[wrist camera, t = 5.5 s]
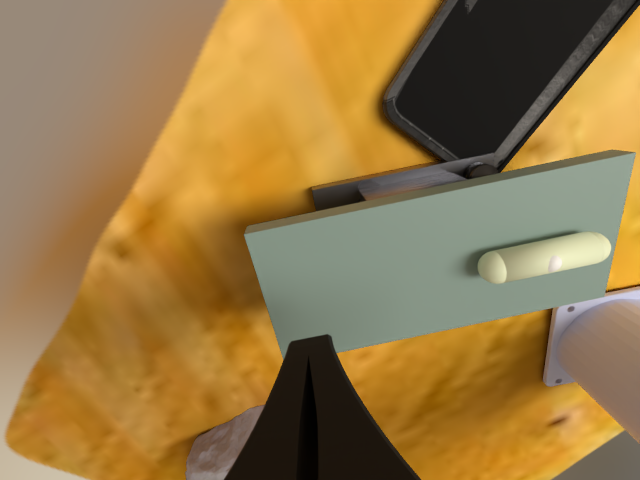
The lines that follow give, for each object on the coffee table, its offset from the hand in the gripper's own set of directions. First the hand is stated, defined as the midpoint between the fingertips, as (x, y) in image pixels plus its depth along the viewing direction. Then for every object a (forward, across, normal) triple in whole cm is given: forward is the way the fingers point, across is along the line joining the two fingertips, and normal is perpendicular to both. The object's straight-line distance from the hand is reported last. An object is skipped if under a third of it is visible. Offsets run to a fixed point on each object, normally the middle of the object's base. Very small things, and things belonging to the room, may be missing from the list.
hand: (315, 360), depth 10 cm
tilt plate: (+5, -6, 0) cm, 8 cm away
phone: (+10, -13, -10) cm, 19 cm away
